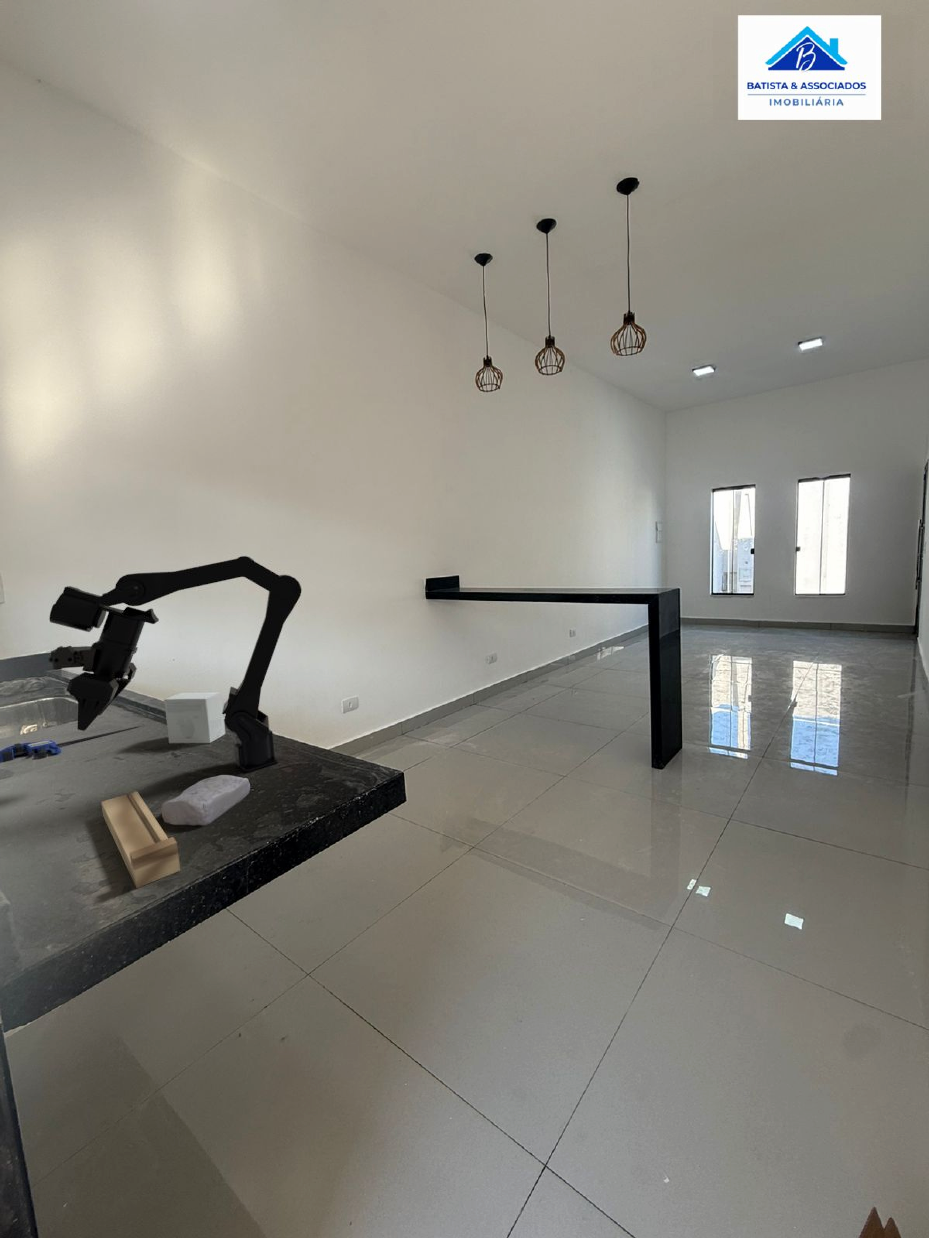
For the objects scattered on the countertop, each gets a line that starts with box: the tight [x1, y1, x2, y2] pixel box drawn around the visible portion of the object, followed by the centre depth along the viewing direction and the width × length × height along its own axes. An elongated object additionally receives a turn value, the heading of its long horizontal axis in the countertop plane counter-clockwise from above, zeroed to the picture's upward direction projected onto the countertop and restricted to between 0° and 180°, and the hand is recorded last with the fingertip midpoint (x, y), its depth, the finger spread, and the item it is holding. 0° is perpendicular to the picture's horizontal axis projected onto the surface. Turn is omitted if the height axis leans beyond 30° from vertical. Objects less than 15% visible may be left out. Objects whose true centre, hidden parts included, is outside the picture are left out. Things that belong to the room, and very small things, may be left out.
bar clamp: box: [0, 724, 144, 763], centre depth 120 cm, size 32×2×10 cm
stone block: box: [160, 774, 251, 827], centre depth 85 cm, size 12×5×10 cm
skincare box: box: [163, 692, 226, 744], centre depth 117 cm, size 10×6×10 cm, turn 83°
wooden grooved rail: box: [100, 791, 181, 889], centre depth 75 cm, size 5×26×4 cm, turn 43°
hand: (89, 722), depth 90 cm, fingers open, 9 cm apart
